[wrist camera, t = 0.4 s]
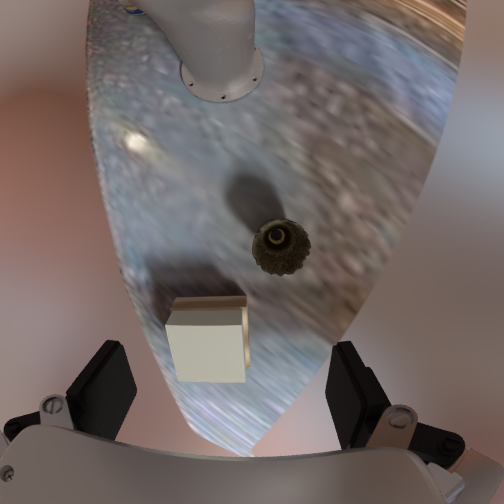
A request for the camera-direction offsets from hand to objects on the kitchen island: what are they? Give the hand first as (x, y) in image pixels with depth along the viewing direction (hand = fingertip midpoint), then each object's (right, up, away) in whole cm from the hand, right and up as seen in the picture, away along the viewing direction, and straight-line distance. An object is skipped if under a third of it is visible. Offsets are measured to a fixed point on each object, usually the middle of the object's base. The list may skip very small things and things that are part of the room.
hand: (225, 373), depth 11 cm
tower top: (-6, -9, +32) cm, 33 cm away
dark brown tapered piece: (+5, +8, +31) cm, 33 cm away
